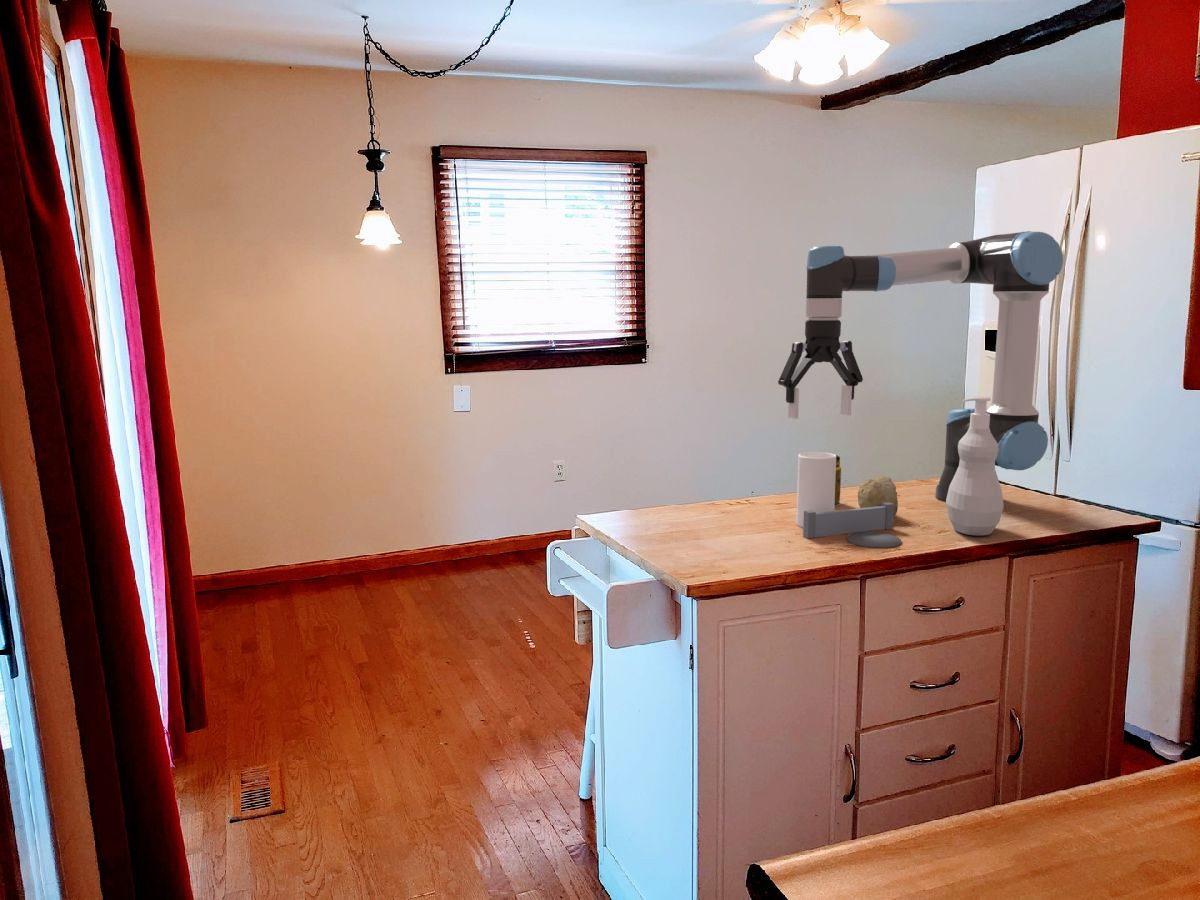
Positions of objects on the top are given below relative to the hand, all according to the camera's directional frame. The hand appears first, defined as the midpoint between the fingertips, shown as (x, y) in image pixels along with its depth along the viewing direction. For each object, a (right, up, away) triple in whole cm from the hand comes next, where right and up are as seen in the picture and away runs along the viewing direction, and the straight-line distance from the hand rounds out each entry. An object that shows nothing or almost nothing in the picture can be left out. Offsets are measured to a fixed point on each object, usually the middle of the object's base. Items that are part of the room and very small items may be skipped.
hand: (819, 416), depth 197 cm
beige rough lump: (+16, -23, +13) cm, 31 cm away
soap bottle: (+33, -25, -2) cm, 42 cm away
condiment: (+7, -21, +25) cm, 34 cm away
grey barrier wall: (+6, -25, -2) cm, 26 cm away
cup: (0, -24, +5) cm, 25 cm away
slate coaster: (+9, -27, -9) cm, 29 cm away
